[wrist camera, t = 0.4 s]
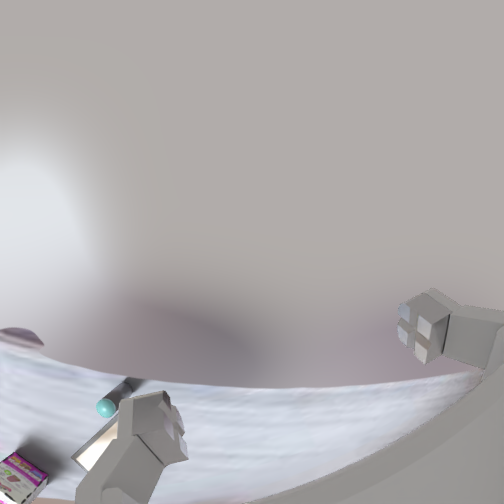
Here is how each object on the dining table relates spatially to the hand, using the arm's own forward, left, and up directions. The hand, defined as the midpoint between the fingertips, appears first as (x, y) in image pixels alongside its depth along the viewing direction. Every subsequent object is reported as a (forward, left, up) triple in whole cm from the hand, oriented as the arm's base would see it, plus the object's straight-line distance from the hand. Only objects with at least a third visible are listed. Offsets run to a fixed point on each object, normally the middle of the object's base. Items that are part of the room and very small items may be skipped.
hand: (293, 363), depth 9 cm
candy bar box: (+5, +68, -52) cm, 85 cm away
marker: (+3, +27, -52) cm, 58 cm away
